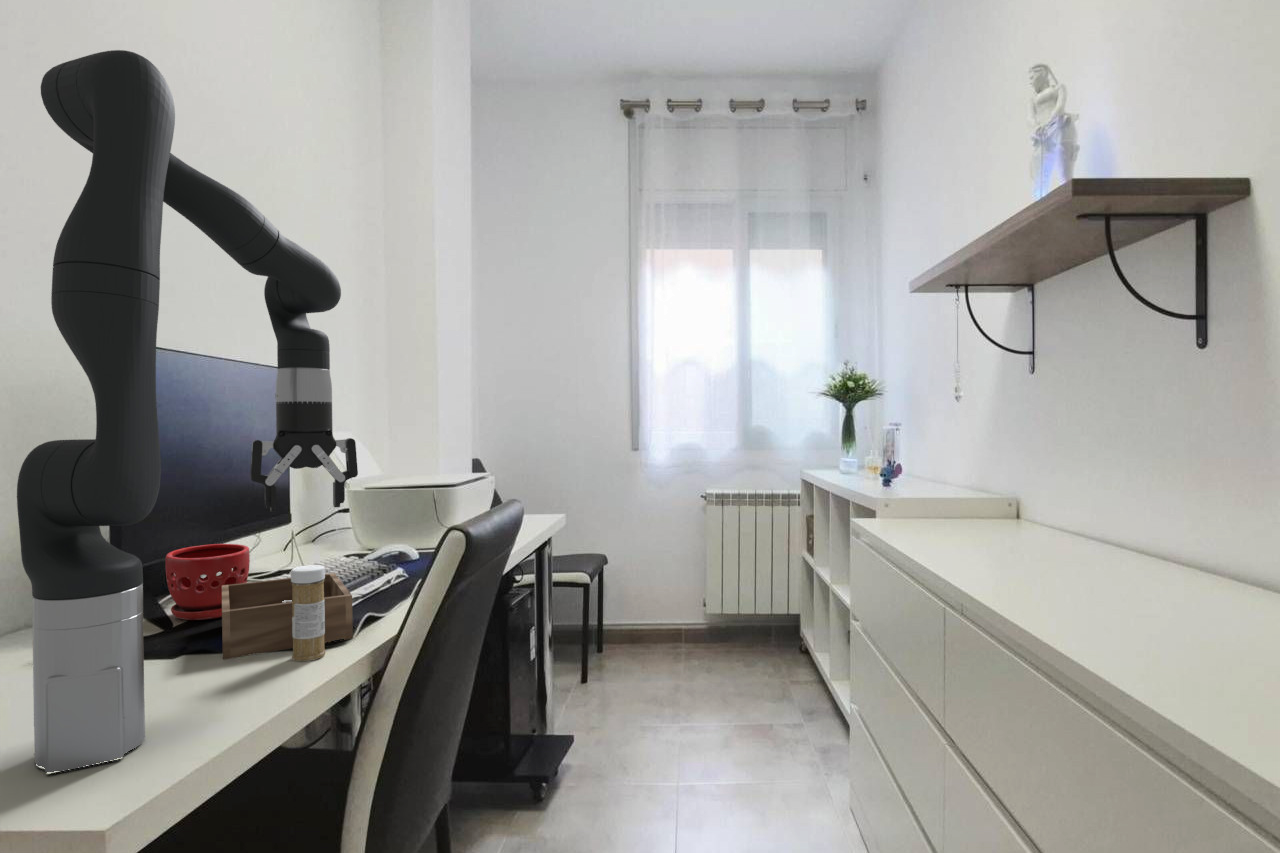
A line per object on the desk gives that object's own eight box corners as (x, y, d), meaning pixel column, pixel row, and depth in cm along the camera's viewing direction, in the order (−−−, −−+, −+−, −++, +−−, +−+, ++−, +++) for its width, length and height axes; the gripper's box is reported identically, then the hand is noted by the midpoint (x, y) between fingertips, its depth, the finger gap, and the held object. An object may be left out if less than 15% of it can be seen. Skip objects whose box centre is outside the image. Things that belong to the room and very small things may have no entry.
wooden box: (352, 638, 111) (352, 595, 111) (222, 659, 102) (222, 612, 102) (335, 610, 128) (334, 572, 128) (222, 625, 119) (221, 585, 119)
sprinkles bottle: (301, 652, 105) (300, 564, 105) (331, 652, 105) (330, 563, 105) (285, 662, 100) (284, 570, 100) (316, 662, 100) (315, 570, 100)
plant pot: (149, 620, 123) (148, 553, 123) (218, 602, 135) (218, 541, 135) (198, 628, 118) (197, 558, 118) (266, 608, 130) (265, 545, 130)
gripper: (250, 398, 95) (252, 515, 96) (360, 399, 103) (361, 508, 103) (248, 400, 102) (249, 510, 102) (351, 401, 109) (352, 503, 109)
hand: (305, 508), depth 102 cm, fingers open, 8 cm apart
